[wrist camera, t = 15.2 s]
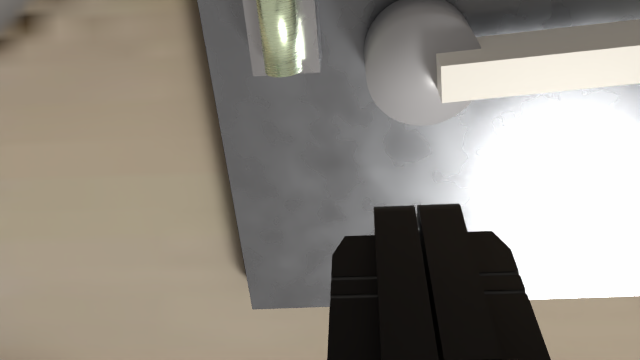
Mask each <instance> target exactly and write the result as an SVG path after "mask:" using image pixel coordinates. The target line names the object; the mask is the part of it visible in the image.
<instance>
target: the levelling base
mask: <svg viewBox="0 0 640 360" xmlns="http://www.w3.org/2000/svg"><path fill="white" fill-rule="evenodd" d="M396 1H398V0H197V2H198V7H199V13H200V18H201V24H202V30H203V35H204V41H205V46H206V52H207V57H208V63H209V69H210V74H211V80H212V85H213V91H214V97H215V102H216V108H217V113H218V119H219V125H220V130H221V136H222V141H223V147H224V153H225V158H226V164H227V169H228V175H229V181H230V186H231V192H232V197H233V203H234V209H235V214H236V220H237V225H238V231H239V237H240V242H241V248H242V253H243V259H244V265H245V270H246V276H247V281H248V287H249V292H250V298H251V304H252V309H276V308H305V307H330V291H331V269H332V254H333V253H334V252H335V250H336V249H337V247H338V246H339V244H340V243H341V241H342V240H343V238H344V237H345V236H360V235H375V234H374V207H381V206H408V205H414V206H415V210H416V217H417V205H430V204H457V203H459V204H460V206H461V209H462V213H463V216H464V220H465V224H466V227H467V231H468V232H474V231H493V232H494V233H495V234H496V235H497V236H498V237H499V238H500V239H501V240H502V241H503V242H504V243H505V244H506V245H507V246H508V247H509V248H510V249H511V250H512V253H513V256H514V259H515V261H516V264H517V267H518V270H519V275H521V278H522V281H523V284H524V287H525V292H526V294H527V295H528V298H529V300H534V299H562V298H591V297H620V296H640V83H638V84H628V85H618V86H608V87H598V88H588V89H578V90H568V91H559V92H549V93H539V94H529V95H519V96H509V97H499V98H489V99H479V100H472V102H471V103H470V104H469V105H468V106H467V107H466V108H465V109H464V110H463V111H461V112H460V113H459V114H457V115H456V116H454V117H452V118H450V119H449V120H446V121H444V122H441V123H437V124H433V125H426V126H417V125H409V124H405V123H402V122H399V121H396V120H394V119H392V118H391V117H389V116H388V115H386V114H385V113H384V112H383V111H382V110H381V109H380V108H379V107H378V106H377V105H376V103H375V102H374V100H373V99H372V97H371V95H370V93H369V89H368V86H367V80H366V69H365V57H364V45H365V39H366V35H367V33H368V30H369V28H370V26H371V24H372V22H373V21H374V20H375V18H376V17H377V16H378V15H379V14H380V13H381V12H382V11H383V10H384V9H385V8H386V7H388V6H389V5H391V4H392V3H394V2H396ZM445 1H447V2H449V3H450V4H452V5H453V6H454V7H456V8H457V9H458V10H459V11H460V12H461V14H462V15H463V16H464V18H465V19H466V21H467V23H468V25H469V26H470V28H471V30H472V32H473V33H474V35H475V37H482V36H491V35H500V34H509V33H518V32H527V31H536V30H545V29H554V28H564V27H573V26H582V25H591V24H600V23H609V22H618V21H627V20H636V19H640V0H445Z"/></svg>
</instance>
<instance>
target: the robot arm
mask: <svg viewBox="0 0 640 360" xmlns="http://www.w3.org/2000/svg"><path fill="white" fill-rule="evenodd" d="M374 234H375V235H360V236H345V237H344V238H343V240H342V241H341V243H340V244H339V246H338V247H337V249H336V250H335V252H334V253H333V254H332V269H331V291H330V313H329V335H328V357H327V360H551V359H550V356H549V354H548V351H547V348H546V345H545V342H544V340H543V337H542V334H541V331H540V328H539V326H538V323H537V320H536V317H535V314H534V312H533V309H532V306H531V303H530V300H529V298H528V295H527V294H526V292H525V287H524V284H523V281H522V278H521V275H519V270H518V267H517V264H516V261H515V259H514V256H513V253H512V250H511V249H510V248H509V247H508V246H507V245H506V244H505V243H504V242H503V241H502V240H501V239H500V238H499V237H498V236H497V235H496V234H495V233H494V232H493V231H474V232H468V231H467V227H466V224H465V220H464V216H463V213H462V209H461V206H460V204H459V203H457V204H430V205H417V217H416V210H415V206H414V205H408V206H381V207H374Z"/></svg>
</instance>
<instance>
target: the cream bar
mask: <svg viewBox="0 0 640 360" xmlns="http://www.w3.org/2000/svg"><path fill="white" fill-rule="evenodd" d="M364 57H365V69H366V80H367V86H368V89H369V93H370V95H371V97H372V99H373V100H374V102H375V103H376V105H377V106H378V107H379V108H380V109H381V110H382V111H383V112H384V113H385V114H386V115H388V116H389V117H391V118H392V119H394V120H396V121H399V122H402V123H405V124H409V125H417V126H426V125H433V124H437V123H441V122H444V121H446V120H449V119H450V118H452V117H454V116H456V115H457V114H459V113H460V112H461V111H463V110H464V109H465V108H466V107H467V106H468V105H469V104H470V103H471V102H472V100H479V99H489V98H499V97H509V96H519V95H529V94H539V93H549V92H559V91H568V90H578V89H588V88H598V87H608V86H618V85H628V84H638V83H640V19H636V20H627V21H618V22H609V23H600V24H591V25H582V26H573V27H564V28H554V29H545V30H536V31H527V32H518V33H509V34H500V35H491V36H482V37H475V35H474V33H473V32H472V30H471V28H470V26H469V25H468V23H467V21H466V19H465V18H464V16H463V15H462V14H461V12H460V11H459V10H458V9H457V8H456V7H454V6H453V5H452V4H450V3H449V2H447V1H445V0H398V1H396V2H394V3H392V4H391V5H389V6H388V7H386V8H385V9H384V10H383V11H382V12H381V13H380V14H379V15H378V16H377V17H376V18H375V20H374V21H373V22H372V24H371V26H370V28H369V30H368V33H367V35H366V39H365V45H364Z"/></svg>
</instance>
